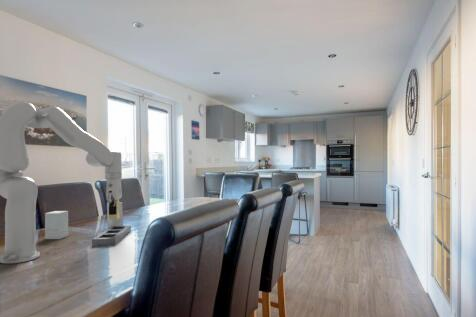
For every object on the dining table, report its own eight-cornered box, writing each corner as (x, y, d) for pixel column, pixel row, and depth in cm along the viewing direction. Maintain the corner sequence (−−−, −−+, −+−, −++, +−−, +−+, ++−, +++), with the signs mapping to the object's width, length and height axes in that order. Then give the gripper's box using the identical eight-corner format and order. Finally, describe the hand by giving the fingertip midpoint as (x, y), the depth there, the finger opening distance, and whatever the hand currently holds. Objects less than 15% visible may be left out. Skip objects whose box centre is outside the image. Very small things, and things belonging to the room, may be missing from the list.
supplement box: (68, 235, 151) (69, 210, 151) (58, 239, 144) (58, 213, 144) (55, 235, 152) (55, 210, 152) (44, 239, 144) (44, 213, 144)
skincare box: (123, 229, 165) (123, 202, 165) (112, 231, 161) (112, 203, 161) (117, 227, 171) (117, 200, 171) (106, 228, 167) (106, 201, 167)
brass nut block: (117, 218, 145) (116, 200, 145) (108, 219, 145) (108, 200, 145) (119, 217, 149) (119, 199, 149) (111, 217, 149) (110, 199, 149)
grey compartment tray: (115, 245, 133) (115, 238, 133) (91, 246, 132) (91, 239, 132) (130, 231, 161) (130, 225, 161) (111, 231, 160) (111, 225, 160)
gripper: (116, 177, 139) (117, 216, 139) (125, 175, 155) (126, 210, 156) (99, 177, 138) (100, 217, 138) (110, 175, 155) (111, 210, 155)
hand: (114, 213), depth 147 cm, fingers closed on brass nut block, 4 cm apart
